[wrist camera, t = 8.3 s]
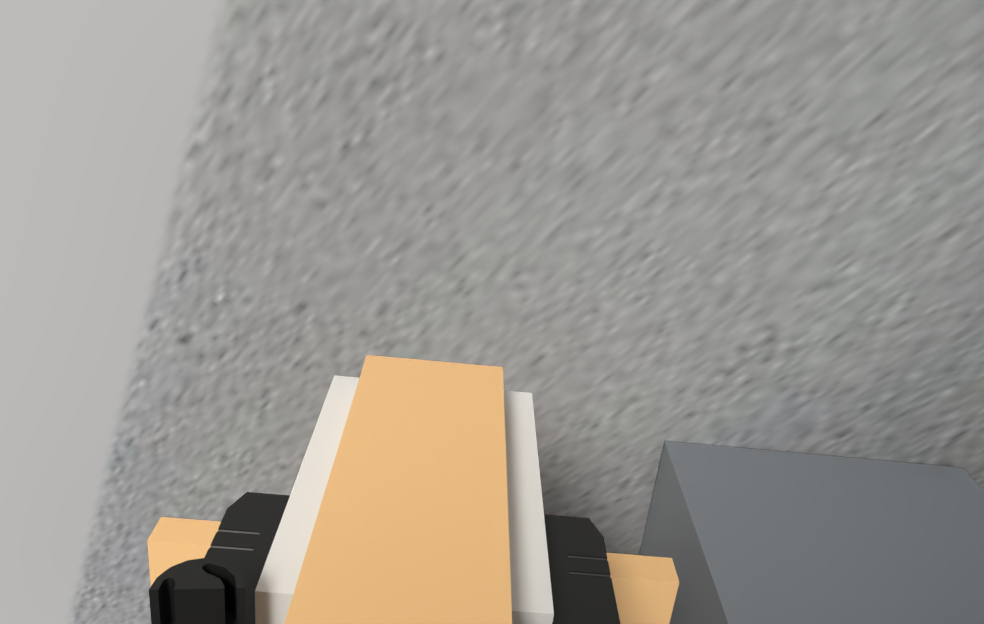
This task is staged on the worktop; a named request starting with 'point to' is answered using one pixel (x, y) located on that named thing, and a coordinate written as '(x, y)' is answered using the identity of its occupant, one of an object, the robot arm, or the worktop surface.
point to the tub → (816, 538)
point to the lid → (419, 511)
